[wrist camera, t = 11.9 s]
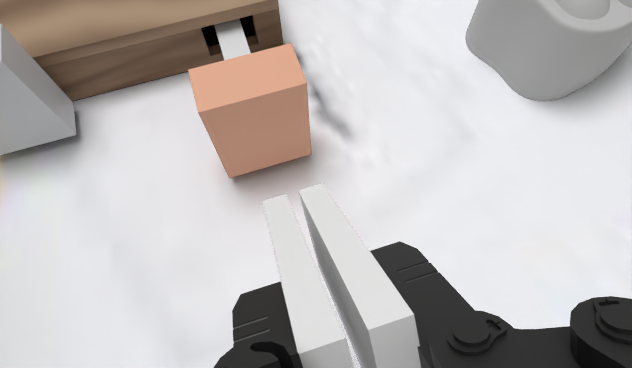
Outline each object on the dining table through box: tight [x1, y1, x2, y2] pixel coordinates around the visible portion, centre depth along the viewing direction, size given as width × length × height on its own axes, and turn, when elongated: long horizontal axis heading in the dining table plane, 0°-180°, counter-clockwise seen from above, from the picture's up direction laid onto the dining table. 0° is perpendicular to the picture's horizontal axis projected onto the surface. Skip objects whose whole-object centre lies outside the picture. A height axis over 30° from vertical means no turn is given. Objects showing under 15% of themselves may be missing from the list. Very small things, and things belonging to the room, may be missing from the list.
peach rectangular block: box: [188, 19, 311, 178], centre depth 29 cm, size 12×6×8 cm, turn 18°
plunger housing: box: [0, 0, 283, 101], centre depth 34 cm, size 10×24×5 cm, turn 108°
